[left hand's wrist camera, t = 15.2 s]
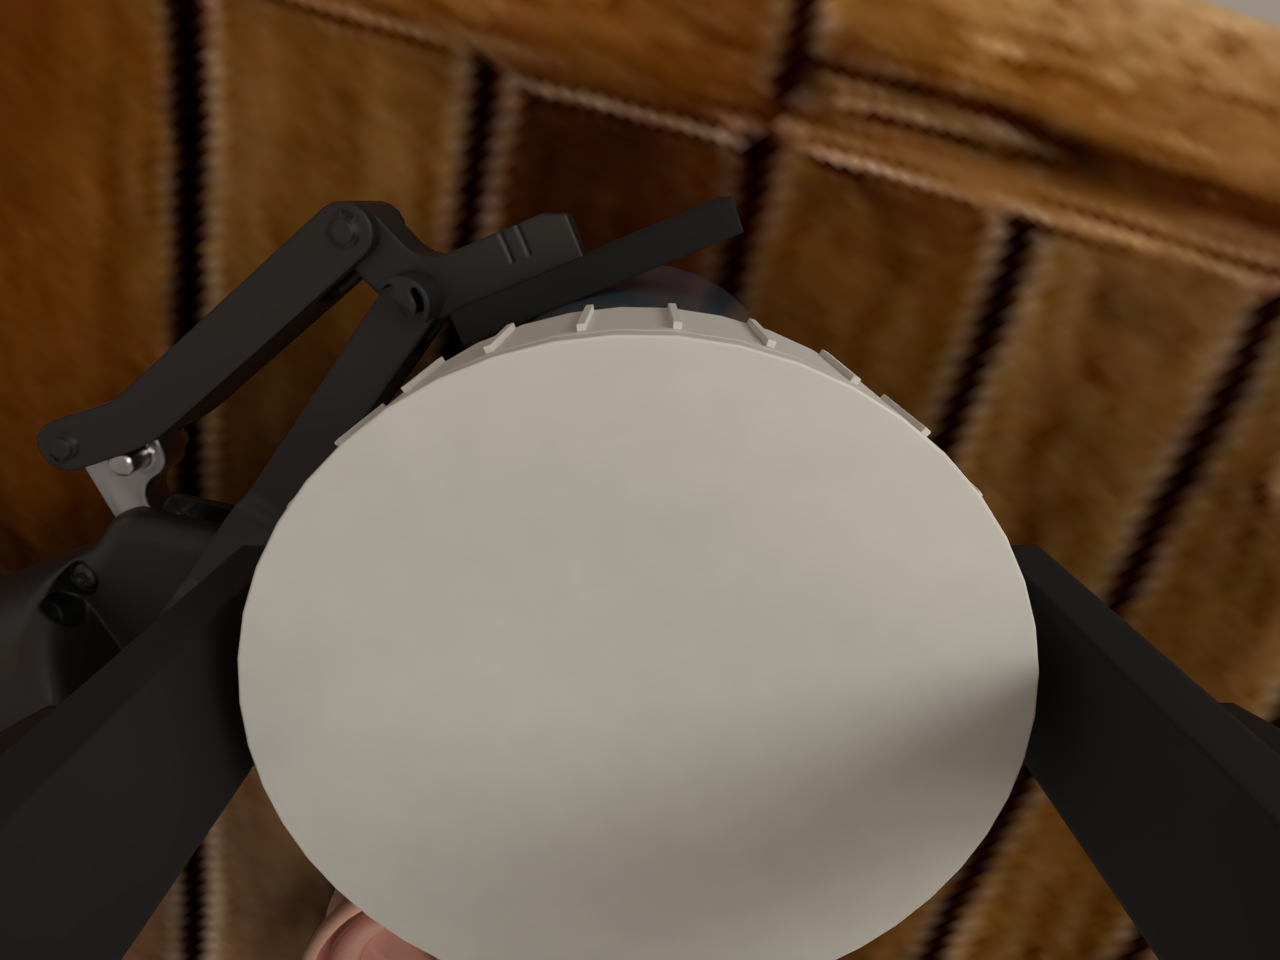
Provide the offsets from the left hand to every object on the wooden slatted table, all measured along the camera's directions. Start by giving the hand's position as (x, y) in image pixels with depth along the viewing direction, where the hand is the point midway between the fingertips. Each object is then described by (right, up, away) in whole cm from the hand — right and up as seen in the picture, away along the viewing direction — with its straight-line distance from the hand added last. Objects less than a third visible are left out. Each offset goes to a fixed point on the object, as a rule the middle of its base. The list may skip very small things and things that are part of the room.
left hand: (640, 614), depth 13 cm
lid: (0, -1, -3) cm, 3 cm away
